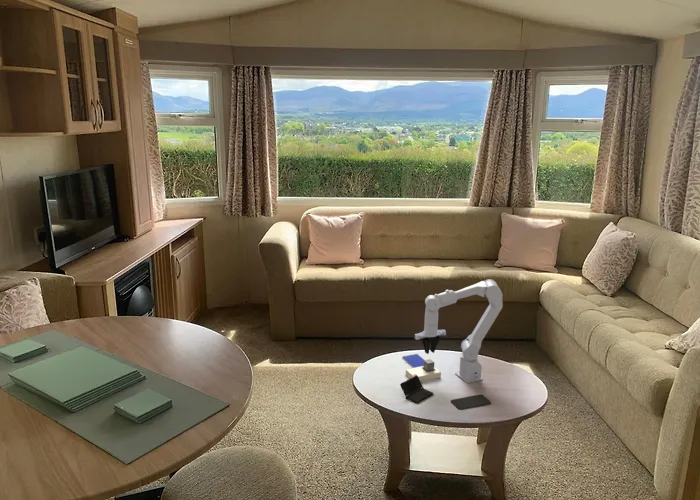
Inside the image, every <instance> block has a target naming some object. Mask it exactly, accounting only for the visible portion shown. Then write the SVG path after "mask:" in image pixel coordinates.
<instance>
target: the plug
mask: <svg viewBox="0 0 700 500" xmlns="http://www.w3.org/2000/svg"><path fill="white" fill-rule="evenodd" d="M434 367H435V361H433V360H432V359H430V358H429V359H428V358H427V359H424V363H423V370H425V371H426V372H431V371H434Z"/></svg>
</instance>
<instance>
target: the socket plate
mask: <svg viewBox="0 0 700 500" xmlns="http://www.w3.org/2000/svg"><path fill="white" fill-rule="evenodd" d="M405 376H406V377H408V378H409V379H411V378H413V377H415V376H418V378H419V380H420V382H421V383H422V382H425V381H429V380H434V379H438V378H441V377H442V371H440V369H438V368H437V367H435V366H434V371H431V372H426V371H425V370H423V366H420V367H415V368H412V367H411V368H406V369H405Z"/></svg>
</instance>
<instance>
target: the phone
mask: <svg viewBox="0 0 700 500" xmlns="http://www.w3.org/2000/svg"><path fill="white" fill-rule="evenodd" d="M450 403H451V404H452V405H453V406H454V407H455V408H456V409H458V410H459V411H460V410H466V409H472V408H477V407H478V408H479V407H485V406H488V405H491V404H492V401H491V400H490V399H488V397H486V396H485V395H483V394H481V393H480V394H476V395H475V394H474V395H469V396H464V397H459V398H454V399H451V400H450Z"/></svg>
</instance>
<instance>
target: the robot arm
mask: <svg viewBox="0 0 700 500" xmlns="http://www.w3.org/2000/svg"><path fill="white" fill-rule="evenodd" d="M475 295H477V296H479V297H482V298H485V297H486V298H487V300H488V303H489V304H488V306H487V307H486V309H485V311H484V312H483V314H482V316H481V317H480V319H479V320H478V323H477V324H476V326H475V328H473V331H472V332H471V334H469V335H468V336H467V337H466V339H463V340H462V342H461V343H460V349H461V351H462V352H461V354H460V357H459V371H457V372H454V375H456V376H457V377H459V378H461V380H462V381H464V382H465V383H467V384H469V383H473V382H479V381H482V380H483V377H482V369H483V368H482V364H481V363H480V362H479V360H478V359H479V358H478V357H479V351H480V350H481V346H482V343H483V340H484V338H485V337H486V335H487V334H488V332H489V330H490V329H491V327H492V325H493V324H494V322H495V320H496V319H497V317H498V316H499V313H500V312H501V311H502V309H503V307H504V306H503V305H504V303H503V297H504V294H503V292H502V290H501V288H500V287H499V286H498V283H497V281H495V280H494V279H490V278H489V279H485V280H481V281H479V282H477V283H474V284H472V285H469V286H466V287H464V288H461V289H459V290H455V291H454V290H452V289H450V290H449V289H445V291H444V292H441V293H438V294H437V293H434V295H433V294H430V295H428V296H427V297H426V298H425V299H424V304H425V310H424V311H425V313H424V326H423V331H421V332H418V333H415V334H414V339H415V340H416V341H417V340H418V341H419V340H420V341H421V342H422V344H423V348H424V349H423V350H424V353H426V354H427V355H428V354H429V353H430V352H431V353H433V354H434V353H435V351H436V348H437V346H438V344H439V343H440V342H441V337H440V336H447V331H446V329H438V327H439V325H438V324H439V310H440V308H443V307H446V306H450V305H453V304H456V303H457V302H458V300H460V299H464V298H467V297H471V296H475Z"/></svg>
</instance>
